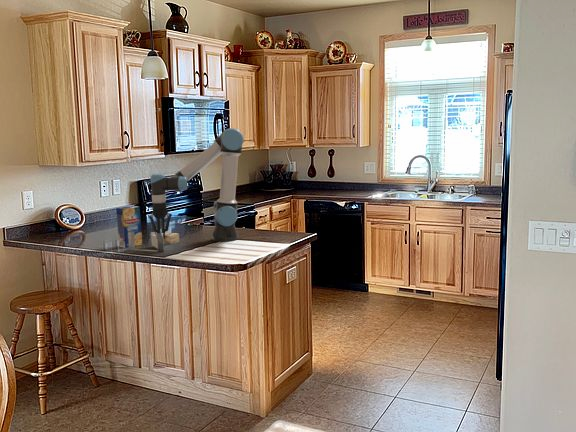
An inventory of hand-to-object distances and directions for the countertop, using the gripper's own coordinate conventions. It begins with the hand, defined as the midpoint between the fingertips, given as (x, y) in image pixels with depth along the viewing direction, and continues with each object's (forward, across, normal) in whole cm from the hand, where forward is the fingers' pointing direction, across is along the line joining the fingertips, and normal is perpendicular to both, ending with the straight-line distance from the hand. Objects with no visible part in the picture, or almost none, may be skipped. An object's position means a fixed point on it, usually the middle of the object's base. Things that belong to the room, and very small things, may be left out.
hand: (161, 244), depth 323 cm
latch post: (+2, +16, -3) cm, 16 cm away
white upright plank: (+1, +3, +1) cm, 4 cm away
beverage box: (+2, +14, -16) cm, 21 cm away
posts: (+2, +9, +5) cm, 10 cm away
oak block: (+2, -7, -13) cm, 15 cm away
